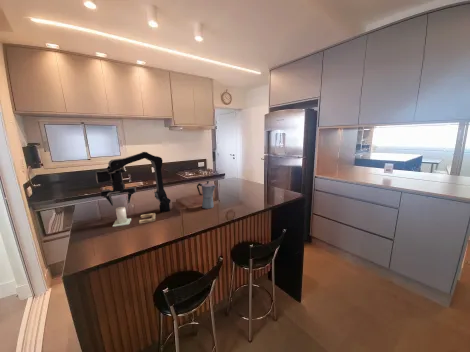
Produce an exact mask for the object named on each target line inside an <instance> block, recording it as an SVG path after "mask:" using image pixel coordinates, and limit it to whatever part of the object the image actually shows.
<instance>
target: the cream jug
mask: <svg viewBox="0 0 470 352" xmlns="http://www.w3.org/2000/svg"><path fill="white" fill-rule="evenodd" d="M115 213H116V218H117V219H116V220H117V221H118V223H119V224H122V223H125V222H127V219H128V217H127V211H126V207H125V206H119V207H116V208H115Z"/></svg>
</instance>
